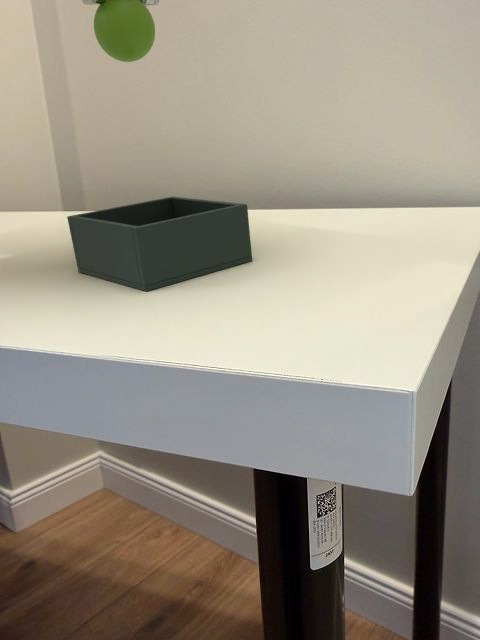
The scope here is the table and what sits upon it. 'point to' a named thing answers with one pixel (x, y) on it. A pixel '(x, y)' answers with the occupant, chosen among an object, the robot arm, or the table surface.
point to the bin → (161, 241)
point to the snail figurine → (124, 29)
